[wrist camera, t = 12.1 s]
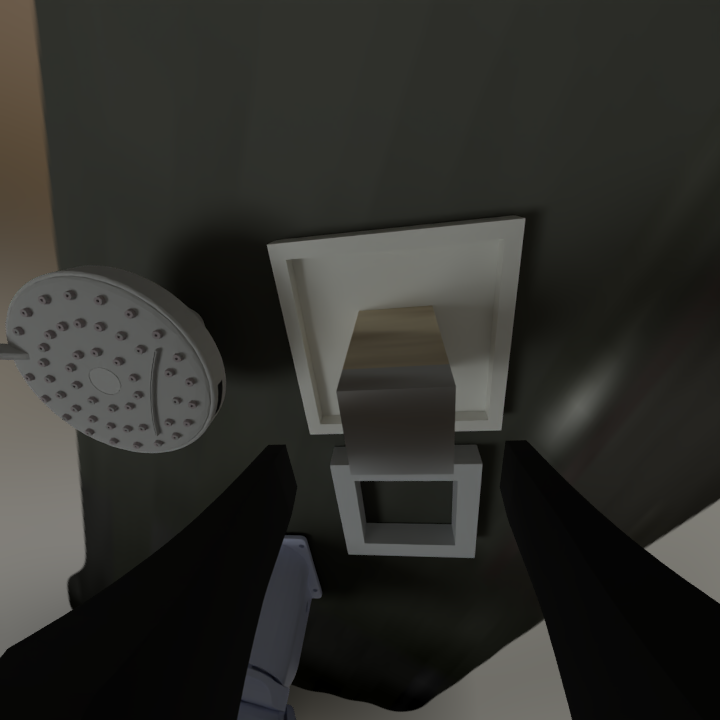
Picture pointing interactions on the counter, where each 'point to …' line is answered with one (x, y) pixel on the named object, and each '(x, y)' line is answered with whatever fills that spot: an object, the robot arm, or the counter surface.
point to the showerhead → (116, 357)
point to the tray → (404, 305)
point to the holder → (411, 537)
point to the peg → (397, 395)
